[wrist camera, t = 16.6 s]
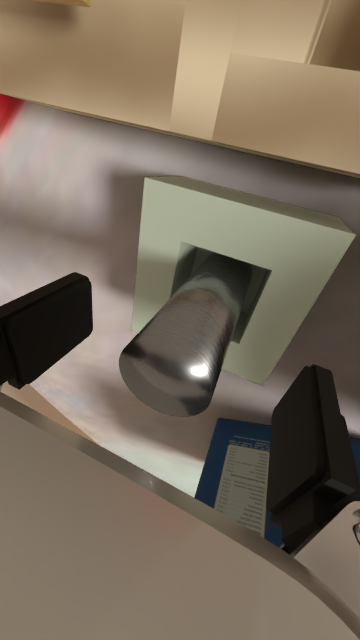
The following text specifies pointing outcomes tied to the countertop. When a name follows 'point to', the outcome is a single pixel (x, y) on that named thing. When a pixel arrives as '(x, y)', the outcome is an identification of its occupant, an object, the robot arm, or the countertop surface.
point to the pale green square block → (243, 244)
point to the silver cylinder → (188, 339)
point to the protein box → (243, 475)
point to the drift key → (70, 2)
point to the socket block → (198, 70)
